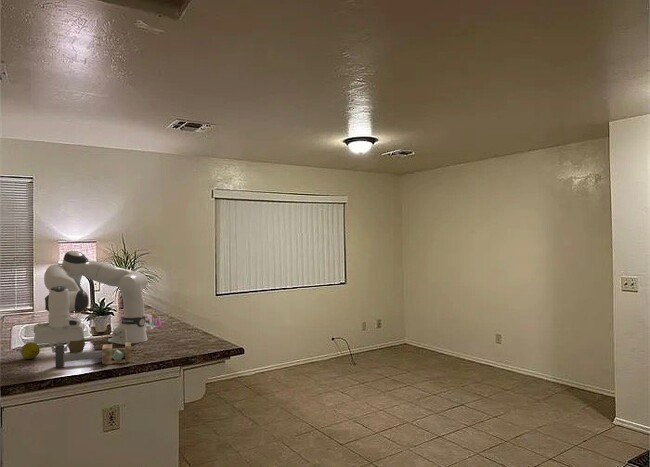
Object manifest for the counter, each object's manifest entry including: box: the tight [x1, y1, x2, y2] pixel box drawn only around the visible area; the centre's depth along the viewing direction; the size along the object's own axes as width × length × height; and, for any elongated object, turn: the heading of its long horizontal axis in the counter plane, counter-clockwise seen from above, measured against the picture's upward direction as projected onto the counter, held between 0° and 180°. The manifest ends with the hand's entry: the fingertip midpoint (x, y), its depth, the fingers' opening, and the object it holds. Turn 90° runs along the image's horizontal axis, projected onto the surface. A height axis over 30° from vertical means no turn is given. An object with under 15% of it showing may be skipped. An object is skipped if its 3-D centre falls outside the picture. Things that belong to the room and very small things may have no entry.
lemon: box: [20, 342, 40, 360], centre depth 233 cm, size 11×8×8 cm
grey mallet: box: [54, 342, 102, 369], centre depth 221 cm, size 22×5×10 cm, turn 113°
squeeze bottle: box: [67, 316, 86, 354], centre depth 246 cm, size 8×8×18 cm
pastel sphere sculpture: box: [144, 312, 162, 331], centre depth 310 cm, size 25×24×9 cm
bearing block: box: [101, 342, 132, 365], centre depth 227 cm, size 12×9×8 cm
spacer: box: [112, 350, 124, 361], centre depth 227 cm, size 4×5×4 cm
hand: (59, 351), depth 217 cm, fingers closed on grey mallet, 3 cm apart
